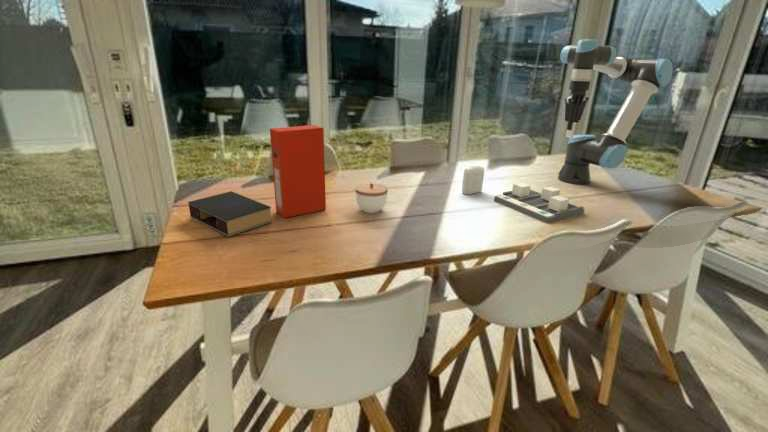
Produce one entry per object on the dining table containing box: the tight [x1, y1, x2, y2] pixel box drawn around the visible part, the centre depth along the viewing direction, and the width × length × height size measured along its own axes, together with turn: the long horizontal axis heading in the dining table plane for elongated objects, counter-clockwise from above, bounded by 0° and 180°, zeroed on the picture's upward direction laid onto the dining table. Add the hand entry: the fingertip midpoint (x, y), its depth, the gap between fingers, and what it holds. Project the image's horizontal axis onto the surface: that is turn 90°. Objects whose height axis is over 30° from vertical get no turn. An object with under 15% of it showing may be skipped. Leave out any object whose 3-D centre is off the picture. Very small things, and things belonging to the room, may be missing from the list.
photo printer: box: [461, 165, 485, 195], centre depth 184 cm, size 10×4×12 cm, turn 123°
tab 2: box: [548, 195, 570, 212], centre depth 162 cm, size 5×5×4 cm
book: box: [187, 190, 273, 237], centre depth 147 cm, size 17×25×7 cm
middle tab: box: [541, 186, 561, 201], centre depth 173 cm, size 5×5×4 cm
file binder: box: [269, 124, 327, 219], centre depth 153 cm, size 8×17×32 cm, turn 126°
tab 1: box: [511, 182, 531, 197], centre depth 177 cm, size 5×5×4 cm
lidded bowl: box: [354, 182, 389, 214], centre depth 160 cm, size 13×13×11 cm
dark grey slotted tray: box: [493, 189, 586, 224], centre depth 170 cm, size 22×28×3 cm
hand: (569, 137), depth 177 cm, fingers closed
